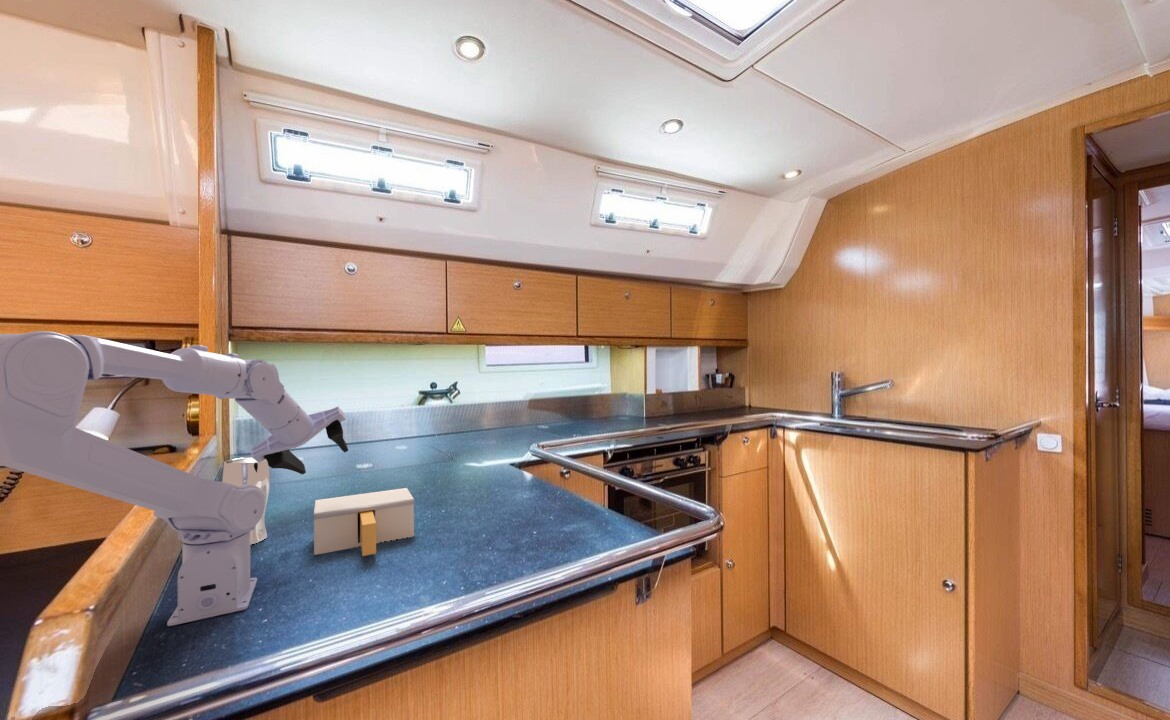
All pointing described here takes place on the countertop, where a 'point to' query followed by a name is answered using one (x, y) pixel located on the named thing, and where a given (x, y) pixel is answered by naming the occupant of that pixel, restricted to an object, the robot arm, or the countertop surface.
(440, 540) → the countertop surface
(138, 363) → the robot arm
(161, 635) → the countertop surface
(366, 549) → the tab
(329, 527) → the dispenser
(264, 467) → the beer glass
